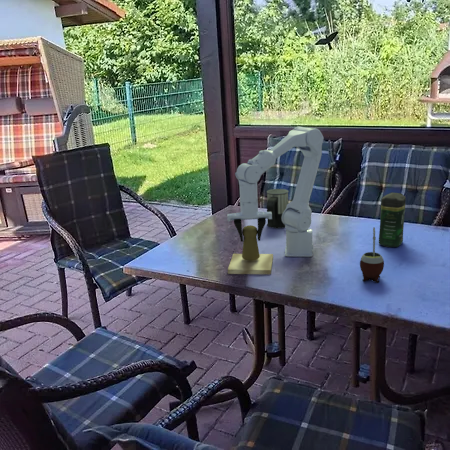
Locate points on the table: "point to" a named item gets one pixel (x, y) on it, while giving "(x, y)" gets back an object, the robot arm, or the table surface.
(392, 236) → the coffee jar
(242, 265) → the birch base board
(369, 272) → the mate gourd
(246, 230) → the cork
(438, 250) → the table surface
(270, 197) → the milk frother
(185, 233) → the table surface
